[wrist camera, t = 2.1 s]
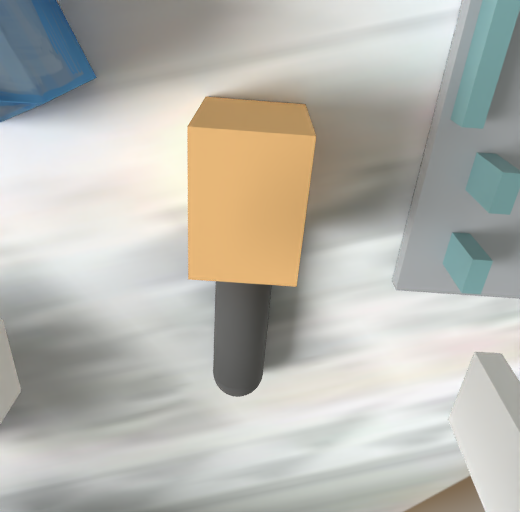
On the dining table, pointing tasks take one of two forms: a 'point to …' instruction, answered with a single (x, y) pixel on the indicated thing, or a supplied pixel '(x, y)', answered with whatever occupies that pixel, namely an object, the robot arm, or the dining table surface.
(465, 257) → the teal block plate
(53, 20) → the perfume bottle
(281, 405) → the dining table surface
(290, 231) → the orange cube-head hammer
